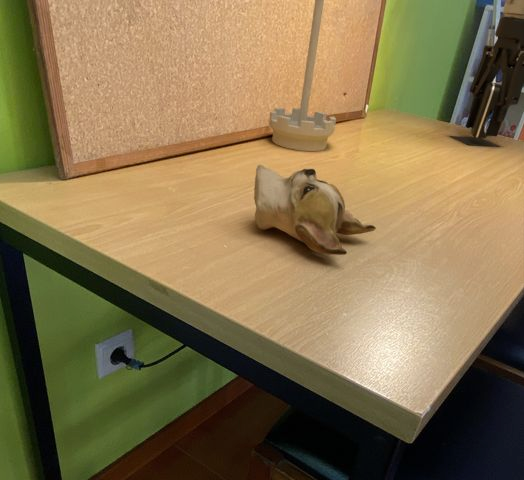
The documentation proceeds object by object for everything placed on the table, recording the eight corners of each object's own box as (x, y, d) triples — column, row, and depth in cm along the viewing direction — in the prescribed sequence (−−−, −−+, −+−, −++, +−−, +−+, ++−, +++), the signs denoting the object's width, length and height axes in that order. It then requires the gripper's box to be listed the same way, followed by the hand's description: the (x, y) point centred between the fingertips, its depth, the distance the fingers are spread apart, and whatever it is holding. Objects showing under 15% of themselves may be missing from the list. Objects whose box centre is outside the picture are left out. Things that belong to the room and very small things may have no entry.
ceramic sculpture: (281, 143, 63) (392, 180, 59) (270, 209, 69) (371, 247, 64) (235, 159, 56) (358, 203, 51) (226, 231, 61) (337, 278, 56)
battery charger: (489, 140, 118) (508, 86, 111) (472, 138, 119) (490, 84, 112) (485, 134, 124) (503, 83, 117) (469, 132, 124) (487, 80, 118)
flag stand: (323, 156, 95) (358, -43, 78) (258, 143, 98) (278, -53, 81) (336, 142, 106) (369, -36, 88) (277, 131, 108) (298, -45, 91)
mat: (499, 146, 121) (500, 146, 121) (468, 145, 118) (468, 144, 118) (479, 137, 127) (479, 137, 127) (449, 136, 125) (449, 135, 125)
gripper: (476, 12, 114) (444, 120, 127) (538, 19, 99) (494, 142, 112) (503, 15, 116) (468, 122, 129) (568, 23, 101) (521, 143, 114)
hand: (480, 131), depth 121 cm, fingers closed on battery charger, 7 cm apart
